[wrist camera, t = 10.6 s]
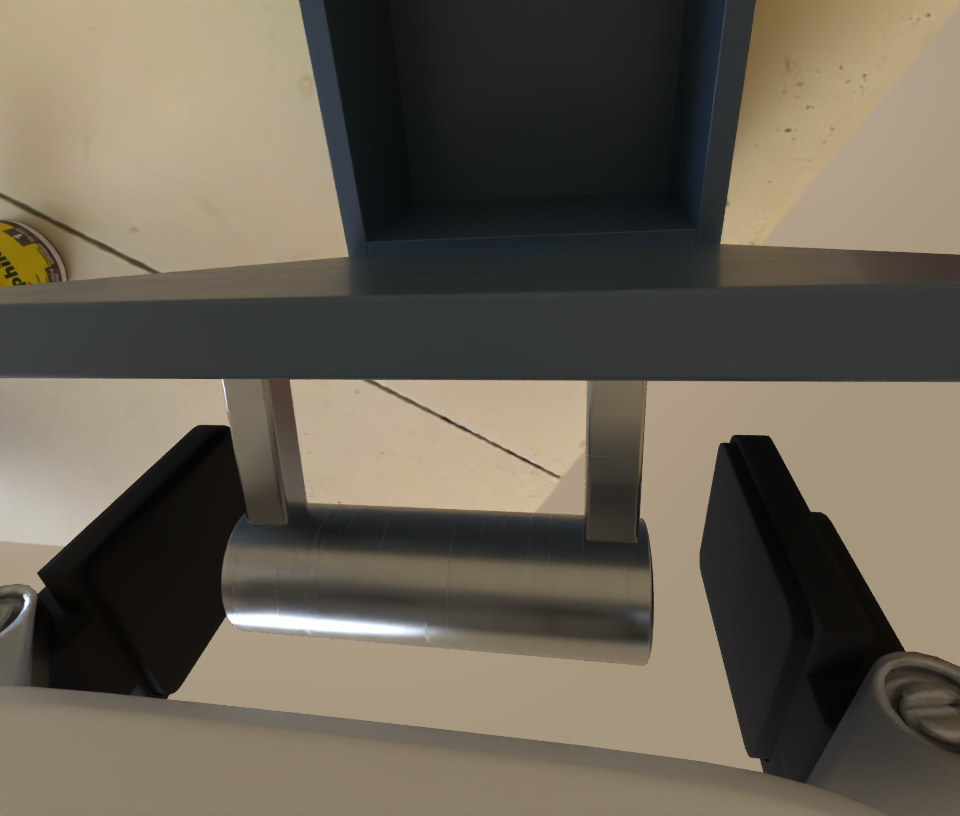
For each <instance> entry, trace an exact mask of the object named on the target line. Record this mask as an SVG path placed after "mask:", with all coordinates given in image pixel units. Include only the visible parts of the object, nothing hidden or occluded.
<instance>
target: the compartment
mask: <svg viewBox="0 0 960 816" xmlns="http://www.w3.org/2000/svg"><path fill="white" fill-rule="evenodd" d="M299 3H300V8H301V13H302V18H303V23H304V28H305V34H306V39H307V44H308V49H309V54H310V59H311V64H312V69H313V74H314V80H315V85H316V90H317V95H318V100H319V105H320V110H321V115H322V121H323V126H324V131H325V136H326V141H327V146H328V151H329V156H330V162H331V167H332V172H333V177H334V182H335V187H336V192H337V197H338V203H339V208H340V213H341V218H342V223H343V228H344V233H345V238H346V244H347V249H348V254H349V257H364V256H393V255H422V254H451V253H479V252H508V251H537V250H566V249H595V248H624V247H653V246H682V245H711V244H720V242H721V235H722V228H723V221H724V214H725V208H726V201H727V194H728V187H729V180H730V173H731V167H732V160H733V153H734V146H735V139H736V133H737V126H738V119H739V112H740V105H741V98H742V92H743V85H744V78H745V71H746V64H747V57H748V51H749V44H750V37H751V30H752V23H753V16H754V10H755V3H756V0H299Z"/></svg>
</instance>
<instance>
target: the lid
mask: <svg viewBox="0 0 960 816" xmlns="http://www.w3.org/2000/svg"><path fill="white" fill-rule="evenodd" d="M0 378H103V379H221V380H222V386H223V391H224V397H225V402H226V408H227V414H228V419H229V425H230V430H231V436H232V442H233V447H234V453H235V459H236V464H237V470H238V475H239V481H240V487H241V492H242V498H243V503H244V509H245V513H244V514H243V515H242V517H241V518H240V519H239V521H238V522H237V524H236V525H235V527H234V529H233V531H232V533H231V535H230V537H229V540H228V542H227V545H226V548H225V552H224V555H223V560H222V565H221V573H220V596H221V602H222V606H223V610H224V612H225V615H226V617H227V618H228V620H229V622H230V623H231V624H232V625H233V626H235V627H236V628H238V629H240V630H242V631H250V632H262V633H274V634H285V635H296V636H297V635H298V636H308V637H319V638H332V639H344V640H354V641H367V642H377V643H389V644H400V645H412V646H423V647H436V648H446V649H458V650H469V651H481V652H493V653H504V654H515V655H527V656H539V657H550V658H561V659H574V660H584V661H596V662H608V663H620V664H631V665H642V666H643V665H646V664H647V663H648V660H649V658H650V654H651V648H652V639H653V621H654V592H653V570H652V557H651V548H650V541H649V535H648V530H647V527H646V524H645V522H644V520H643V519H641V518H640V501H641V482H642V464H643V445H644V425H645V407H646V388H647V381H815V382H816V381H818V382H822V381H824V382H826V381H827V382H830V381H831V382H834V381H835V382H960V255H953V254H931V253H909V252H887V251H864V250H842V249H819V248H797V247H775V246H753V245H730V244H711V245H682V246H653V247H624V248H595V249H566V250H537V251H508V252H479V253H451V254H422V255H393V256H364V257H342V258H330V259H318V260H307V261H295V262H284V263H272V264H260V265H249V266H237V267H225V268H214V269H202V270H191V271H179V272H167V273H156V274H144V275H132V276H121V277H109V278H98V279H86V280H74V281H63V282H51V283H39V284H28V285H16V286H5V287H0ZM290 379H340V380H576V381H587V412H586V461H585V509H584V515H572V514H548V513H526V512H504V511H481V510H458V509H435V508H413V507H390V506H367V505H344V504H321V503H307V499H306V492H305V485H304V478H303V471H302V464H301V457H300V450H299V443H298V436H297V428H296V421H295V414H294V407H293V400H292V393H291V386H290Z"/></svg>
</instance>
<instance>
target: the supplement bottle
mask: <svg viewBox="0 0 960 816" xmlns="http://www.w3.org/2000/svg"><path fill="white" fill-rule="evenodd" d="M63 281H66V272H65V268H64V265H63V263H62V260H61V258H60V256H59V255H58V253H57V252H56V250H55V249H54V247H53V246H52V245H51V244H50V243H49V242H48V241H47V240H46V239H45V238H44V237H43V236H42V235H41V234H39V233H38V232H37V231H35V230H34V229H32V228H31V227H29V226H27V225H25V224H22V223H19V222H16V221H12V220H0V287H5V286H16V285H28V284H39V283H51V282H63Z"/></svg>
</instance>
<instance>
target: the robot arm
mask: <svg viewBox="0 0 960 816" xmlns="http://www.w3.org/2000/svg"><path fill="white" fill-rule="evenodd" d="M244 513H245V509H244V503H243V498H242V492H241V487H240V481H239V475H238V470H237V464H236V459H235V453H234V447H233V442H232V436H231V430H230V428H229V427H228V426H225V425H198V426H196V427H194V428H193V429H192V430H191V431H190V432H188V433H187V434H186V435H185V436H184V437H183V438H182V439H181V440H180V441H179V442H178V443H177V444H176V445H174V446H173V447H172V448H171V449H170V450H169V451H168V452H167V453H166V454H165V455H164V456H163V457H162V458H160V459H159V460H158V461H157V462H156V463H155V464H154V465H153V466H152V467H151V468H150V469H149V470H148V471H146V472H145V473H144V474H143V475H142V476H141V477H140V478H139V479H138V480H137V481H136V482H135V483H133V484H132V485H131V486H130V487H129V488H128V489H127V490H126V491H125V492H124V493H123V494H122V495H121V496H119V497H118V498H117V499H116V500H115V501H114V502H113V503H112V504H111V505H110V506H109V507H108V508H107V509H105V510H104V511H103V512H102V513H101V514H100V515H99V516H98V517H97V518H96V519H95V520H94V521H92V522H91V523H90V524H89V525H88V526H87V527H86V528H85V529H84V530H83V531H82V532H81V533H80V534H78V535H77V536H76V537H75V538H74V539H73V540H72V541H71V542H70V543H69V544H68V545H67V546H66V547H64V548H63V549H62V550H61V551H60V552H59V553H58V554H57V555H56V556H55V557H54V558H53V559H51V560H50V561H49V562H48V563H47V564H46V565H45V566H44V567H43V568H42V569H41V570H40V571H39V572H38V573H37V574H38V575H39V577H40V578H41V580H42V581H43V583H44V584H45V585H46V587H45V588H44V589H43V590H42V591H41V592H40V593H38V594H37V593H36V591H35V590H34V589H32V588H31V587H30V586H28V585H21V584H12V585H4V586H1V587H0V816H960V667H959V666H957V665H954V664H952V663H950V662H947V661H945V660H943V659H940V658H938V657H935V656H930V655H926V654H922V653H918V652H905V650H904V648H903V647H902V645H901V643H900V641H899V639H898V638H897V636H896V634H895V632H894V631H893V629H892V627H891V625H890V624H889V622H888V621H887V618H886V617H885V615H884V613H883V611H882V610H881V608H880V606H879V604H878V603H877V601H876V599H875V597H874V596H873V594H872V592H871V590H870V589H869V587H868V585H867V583H866V582H865V580H864V578H863V576H862V575H861V573H860V571H859V569H858V568H857V566H856V564H855V562H854V561H853V559H852V557H851V555H850V554H849V552H848V550H847V548H846V547H845V545H844V543H843V542H842V540H841V538H840V536H839V534H838V533H837V531H836V529H835V527H834V526H833V524H832V522H831V521H830V520H829V518H828V517H827V516H826V515H825V514H823V513H821V512H810V510H809V508H808V506H807V504H806V502H805V500H804V499H803V497H802V495H801V493H800V491H799V490H798V488H797V486H796V484H795V482H794V480H793V478H792V476H791V474H790V473H789V471H788V469H787V467H786V465H785V464H784V461H783V460H782V458H781V456H780V454H779V452H778V450H777V448H776V446H775V445H774V443H773V441H772V439H771V438H770V437H769V436H763V435H762V436H761V435H760V436H759V435H734V436H732V438H731V440H730V443H721V444H720V446H719V449H718V454H717V459H716V465H715V471H714V476H713V482H712V487H711V493H710V498H709V504H708V509H707V515H706V521H705V526H704V532H703V537H702V543H701V549H700V570H701V575H702V579H703V583H704V587H705V591H706V595H707V598H708V603H709V607H710V611H711V614H712V618H713V623H714V626H715V631H716V634H717V638H718V642H719V646H720V650H721V654H722V658H723V662H724V666H725V670H726V674H727V678H728V682H729V686H730V690H731V694H732V698H733V702H734V706H735V709H736V714H737V718H738V722H739V726H740V730H741V734H742V738H743V741H744V745H745V749H746V751H747V754H748V755H749V757H751V758H760V761H761V765H762V769H763V772H764V773H762V772H756V771H750V770H745V769H739V768H734V767H729V766H723V765H717V764H712V763H707V762H701V761H693V760H686V759H679V758H671V757H664V756H656V755H649V754H641V753H634V752H625V751H619V750H611V749H603V748H596V747H589V746H581V745H571V744H563V743H555V742H546V741H538V740H528V739H520V738H512V737H503V736H495V735H486V734H477V733H469V732H460V731H451V730H442V729H434V728H426V727H417V726H408V725H399V724H389V723H381V722H372V721H363V720H354V719H345V718H335V717H327V716H318V715H309V714H300V713H291V712H281V711H272V710H263V709H254V708H245V707H235V706H226V705H216V704H206V703H197V702H187V701H178V700H169V699H167V698H168V696H169V695H170V694H172V693H174V692H176V691H177V690H178V689H179V688H180V686H181V685H182V683H183V682H184V681H185V679H186V678H187V676H188V674H189V673H190V671H191V670H192V668H193V667H194V665H195V664H196V662H197V660H198V659H199V657H200V656H201V654H202V653H203V651H204V650H205V648H206V646H207V645H208V643H209V642H210V640H211V639H212V637H213V636H214V634H215V632H216V631H217V629H218V628H219V626H220V625H221V623H222V622H223V620H224V618H225V617H226V615H225V612H224V610H223V606H222V602H221V596H220V573H221V565H222V560H223V555H224V552H225V548H226V545H227V542H228V540H229V537H230V535H231V533H232V531H233V529H234V527H235V525H236V524H237V522H238V521H239V519H240V518H241V517H242V515H243V514H244Z"/></svg>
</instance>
